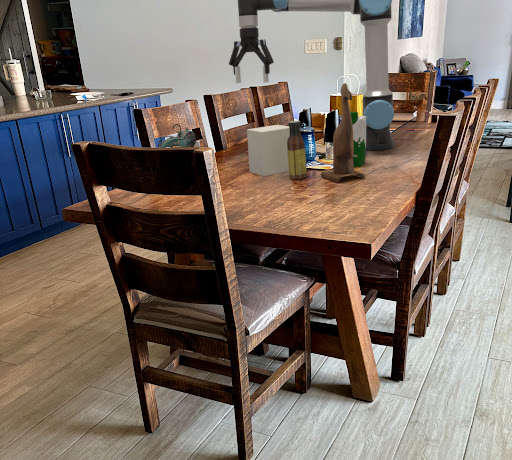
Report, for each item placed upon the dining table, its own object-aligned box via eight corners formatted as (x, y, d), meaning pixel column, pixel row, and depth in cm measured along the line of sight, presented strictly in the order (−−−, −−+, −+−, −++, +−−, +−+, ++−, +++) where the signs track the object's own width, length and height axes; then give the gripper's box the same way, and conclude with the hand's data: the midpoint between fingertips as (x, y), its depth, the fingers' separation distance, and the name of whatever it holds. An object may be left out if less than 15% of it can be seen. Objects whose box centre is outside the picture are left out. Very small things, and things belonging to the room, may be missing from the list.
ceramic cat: (191, 172, 199) (185, 120, 192) (203, 173, 195) (198, 121, 188) (153, 184, 184) (146, 128, 177) (166, 186, 180) (159, 129, 173)
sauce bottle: (308, 176, 182) (307, 119, 176) (304, 180, 177) (302, 122, 170) (290, 175, 185) (288, 120, 178) (286, 179, 179) (283, 122, 172)
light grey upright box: (233, 166, 204) (230, 126, 198) (265, 160, 212) (263, 121, 206) (264, 176, 186) (261, 132, 180) (298, 168, 194) (297, 126, 188)
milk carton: (339, 167, 193) (338, 113, 186) (345, 162, 200) (345, 110, 194) (362, 168, 189) (362, 113, 182) (367, 162, 197) (368, 110, 190)
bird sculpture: (339, 185, 170) (341, 85, 158) (319, 177, 180) (320, 83, 168) (366, 180, 174) (370, 83, 163) (345, 172, 184) (348, 81, 173)
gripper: (280, 25, 200) (282, 81, 207) (228, 29, 213) (232, 82, 220) (270, 25, 194) (273, 83, 201) (218, 29, 207) (222, 83, 214)
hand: (252, 82), depth 211 cm, fingers open, 13 cm apart
